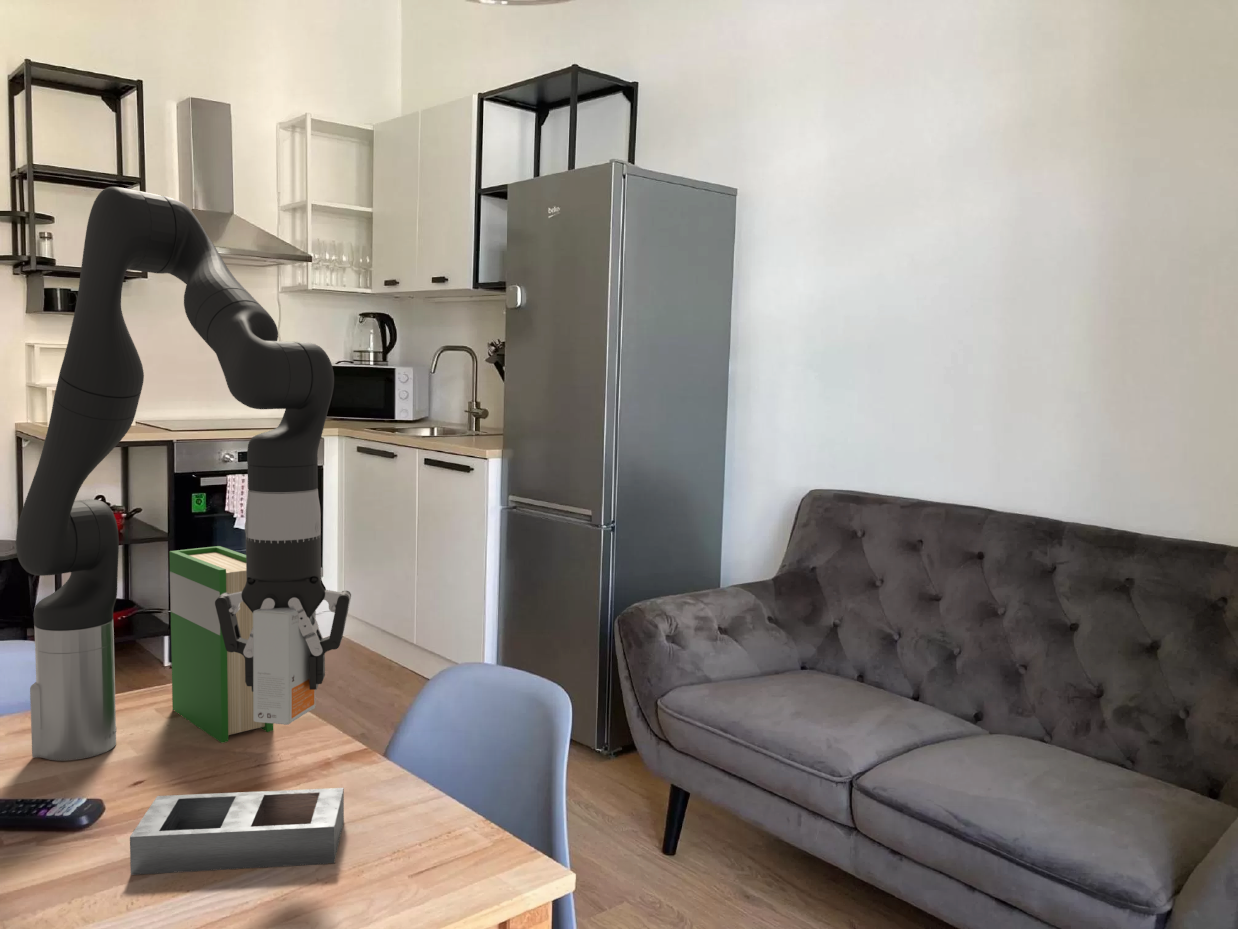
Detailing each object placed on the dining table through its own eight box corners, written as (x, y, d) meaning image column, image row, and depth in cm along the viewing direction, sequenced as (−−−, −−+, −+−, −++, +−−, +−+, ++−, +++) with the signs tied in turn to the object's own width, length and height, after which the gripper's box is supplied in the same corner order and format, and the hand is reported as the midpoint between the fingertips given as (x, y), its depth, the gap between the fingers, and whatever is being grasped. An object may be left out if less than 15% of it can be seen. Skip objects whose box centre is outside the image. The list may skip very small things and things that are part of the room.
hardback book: (273, 730, 146) (271, 563, 143) (221, 743, 141) (219, 570, 138) (221, 700, 158) (219, 546, 156) (172, 710, 153) (169, 551, 151)
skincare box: (289, 726, 107) (288, 612, 106) (252, 723, 108) (250, 610, 106) (317, 707, 113) (317, 600, 112) (282, 704, 113) (280, 598, 112)
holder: (130, 875, 104) (129, 837, 104) (157, 830, 114) (157, 796, 114) (334, 863, 107) (334, 826, 107) (343, 821, 117) (343, 788, 117)
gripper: (356, 525, 113) (357, 676, 115) (219, 526, 111) (222, 680, 112) (350, 537, 106) (351, 697, 107) (203, 538, 103) (206, 702, 105)
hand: (285, 688), depth 110 cm, fingers closed on skincare box, 5 cm apart
